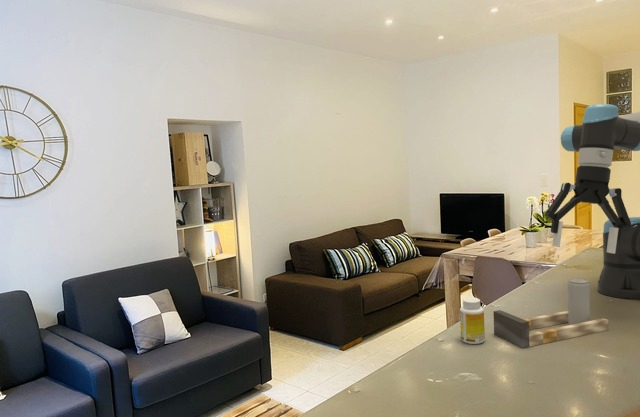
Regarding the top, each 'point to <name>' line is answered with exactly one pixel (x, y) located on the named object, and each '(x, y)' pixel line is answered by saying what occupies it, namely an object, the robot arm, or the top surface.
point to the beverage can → (578, 300)
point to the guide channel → (519, 328)
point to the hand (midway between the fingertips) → (583, 249)
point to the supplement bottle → (472, 321)
